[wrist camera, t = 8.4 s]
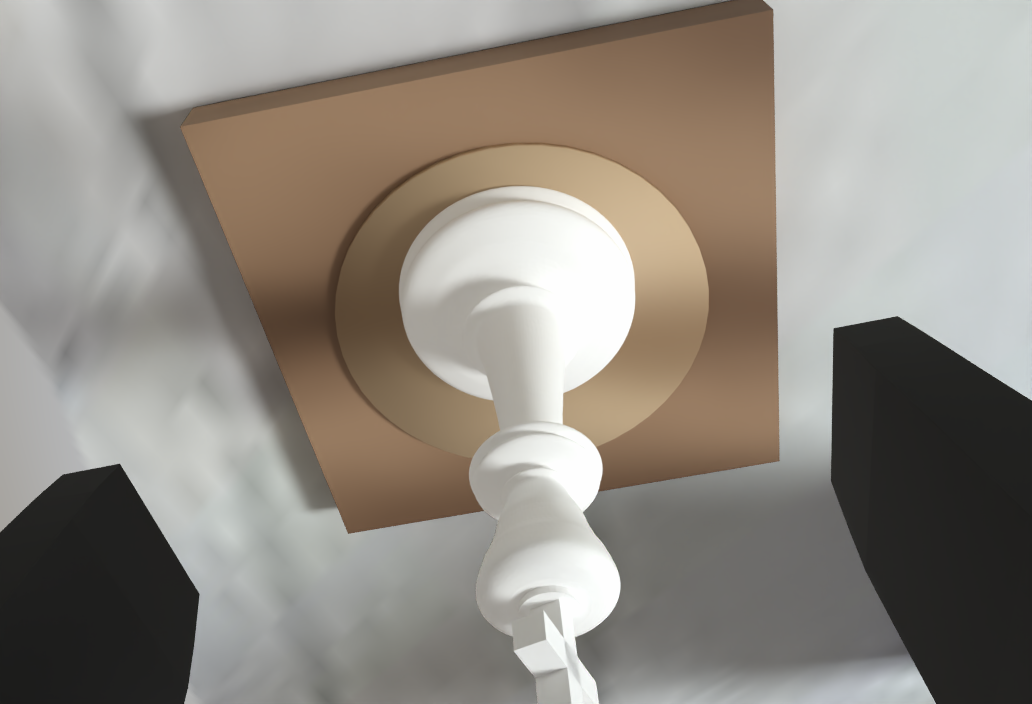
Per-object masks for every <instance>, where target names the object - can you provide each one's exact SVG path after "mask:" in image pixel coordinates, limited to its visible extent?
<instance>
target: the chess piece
mask: <svg viewBox="0 0 1032 704" xmlns="http://www.w3.org/2000/svg"><path fill="white" fill-rule="evenodd" d="M399 301H400V307H401V312H402V319H403V324H404V328H405V331H406V334H407V337H408V339H409V341H410V344H411V346H412V347H413V349H414V351H415V352H416V354H417V355H418V357H419V358H420V359H421V361H422V362H423V363H424V364H425V365H426V366H427V368H428V369H430V370H431V371H432V372H433V373H434V374H435V375H436V376H437V377H439V378H440V379H441V380H443V381H444V382H446V383H447V384H449V385H451V386H452V387H454V388H456V389H458V390H460V391H462V392H465V393H467V394H470V395H473V396H476V397H479V398H483V399H488V400H493V401H494V406H495V410H496V414H497V418H498V422H499V428H500V431H499V432H497V433H495V434H494V435H492V436H491V437H489V438H488V439H487V440H486V441H485V442H484V443H483V444H482V445H481V446H480V447H479V448H478V450H477V451H476V453H475V454H474V456H473V458H472V461H471V464H470V468H469V481H470V486H471V488H472V491H473V493H474V495H475V497H476V499H477V501H478V503H479V505H480V506H481V507H482V509H483V510H484V511H485V512H486V513H487V514H489V515H490V516H491V517H493V518H494V519H496V520H498V523H497V527H496V532H495V535H494V538H493V541H492V543H491V546H490V547H489V549H488V551H487V552H486V554H485V557H484V559H483V562H482V565H481V568H480V571H479V574H478V578H477V582H476V591H475V593H476V601H477V605H478V607H479V610H480V612H481V613H482V615H483V616H484V618H485V619H486V620H487V621H488V622H489V623H490V624H491V625H492V626H493V627H495V628H496V629H498V630H499V631H501V632H503V633H504V634H507V635H509V636H511V637H513V649H514V652H515V653H516V654H517V656H518V657H519V658H520V660H521V661H522V662H523V663H524V665H525V666H526V667H527V668H528V670H529V671H530V672H531V673H532V675H533V676H534V677H535V679H536V691H537V704H599V700H598V693H597V687H596V682H595V680H594V679H593V678H592V676H591V675H590V674H589V672H588V671H587V669H586V668H585V667H584V665H583V664H582V663H581V661H580V660H579V658H578V657H577V650H576V643H575V637H577V636H579V635H582V634H584V633H586V632H588V631H590V630H592V629H593V628H595V627H596V626H598V625H599V624H600V623H601V622H602V621H604V620H605V619H606V618H607V617H608V616H609V614H610V613H611V612H612V610H613V609H614V607H615V605H616V603H617V601H618V598H619V595H620V576H619V573H618V570H617V567H616V565H615V563H614V561H613V559H612V558H611V556H610V554H609V552H608V551H607V549H606V548H605V546H604V544H603V543H602V542H601V541H600V539H599V538H598V537H597V536H596V535H595V534H594V532H593V531H592V529H591V528H590V526H589V524H588V522H587V520H586V518H585V516H584V514H583V511H584V510H585V509H587V508H588V506H589V505H590V504H591V503H592V502H593V500H594V498H595V497H596V495H597V492H598V490H599V486H600V481H601V478H602V469H603V468H602V460H601V457H600V454H599V452H598V450H597V448H596V447H595V445H594V444H593V443H592V442H591V440H589V439H588V438H587V437H586V436H585V435H583V434H582V433H581V432H579V431H577V430H575V429H574V428H571V427H569V426H566V425H563V393H565V392H567V391H570V390H572V389H574V388H576V387H578V386H580V385H581V384H583V383H585V382H586V381H588V380H589V379H591V378H592V377H594V376H595V375H596V374H597V373H599V372H600V371H601V370H602V369H603V368H604V367H605V366H606V365H607V364H608V363H609V362H610V361H611V360H612V359H613V357H614V356H615V355H616V353H617V352H618V351H619V349H620V348H621V346H622V344H623V343H624V341H625V339H626V337H627V334H628V332H629V329H630V327H631V324H632V320H633V316H634V310H635V278H634V269H633V265H632V261H631V257H630V254H629V252H628V249H627V247H626V245H625V243H624V241H623V240H622V238H621V236H620V235H619V233H618V232H617V230H616V229H615V228H614V227H613V226H612V224H611V223H610V222H609V221H608V220H607V219H606V218H605V217H604V216H603V215H602V214H600V213H599V212H598V211H597V210H595V209H594V208H592V207H591V206H590V205H588V204H586V203H585V202H583V201H581V200H579V199H577V198H575V197H573V196H570V195H568V194H565V193H562V192H559V191H555V190H552V189H547V188H541V187H533V186H508V187H500V188H494V189H489V190H486V191H482V192H479V193H476V194H473V195H470V196H468V197H466V198H463V199H461V200H459V201H457V202H456V203H454V204H452V205H450V206H449V207H447V208H446V209H444V210H443V211H442V212H440V213H439V214H438V215H436V216H435V217H434V218H433V219H432V220H431V221H430V222H429V223H428V224H427V225H426V226H425V227H424V228H423V229H422V231H421V232H420V233H419V234H418V236H417V237H416V238H415V240H414V242H413V243H412V245H411V247H410V248H409V251H408V253H407V255H406V257H405V260H404V263H403V266H402V270H401V274H400V281H399Z"/></svg>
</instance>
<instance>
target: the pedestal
mask: <svg viewBox="0 0 1032 704" xmlns="http://www.w3.org/2000/svg"><path fill="white" fill-rule="evenodd" d="M180 128H181V130H182V133H183V135H184V137H185V140H186V142H187V145H188V147H189V149H190V152H191V154H192V157H193V159H194V162H195V164H196V166H197V169H198V171H199V174H200V176H201V178H202V181H203V183H204V186H205V188H206V191H207V193H208V195H209V198H210V200H211V203H212V205H213V208H214V210H215V212H216V215H217V217H218V220H219V222H220V224H221V227H222V229H223V232H224V234H225V237H226V239H227V241H228V244H229V246H230V249H231V251H232V254H233V256H234V258H235V261H236V263H237V266H238V268H239V270H240V273H241V275H242V278H243V280H244V283H245V285H246V287H247V290H248V292H249V295H250V297H251V300H252V302H253V304H254V307H255V309H256V312H257V314H258V316H259V319H260V321H261V324H262V326H263V329H264V331H265V333H266V336H267V338H268V341H269V343H270V345H271V348H272V350H273V353H274V355H275V358H276V360H277V362H278V365H279V367H280V370H281V372H282V375H283V377H284V379H285V382H286V384H287V387H288V389H289V391H290V394H291V396H292V399H293V401H294V404H295V406H296V408H297V411H298V413H299V416H300V418H301V421H302V423H303V425H304V428H305V430H306V433H307V435H308V437H309V440H310V442H311V445H312V447H313V450H314V452H315V454H316V457H317V459H318V462H319V464H320V467H321V469H322V471H323V474H324V476H325V479H326V481H327V483H328V486H329V488H330V491H331V493H332V496H333V498H334V500H335V503H336V505H337V508H338V510H339V512H340V515H341V517H342V520H343V522H344V525H345V527H346V529H347V532H348V534H349V533H355V532H361V531H367V530H373V529H379V528H385V527H391V526H396V525H402V524H408V523H414V522H420V521H426V520H432V519H438V518H444V517H450V516H456V515H462V514H468V513H474V512H480V511H484V510H483V509H482V507H481V506H480V505H479V503H478V501H477V499H476V497H475V495H474V493H473V491H472V488H471V486H470V481H469V468H470V464H471V461H472V458H473V456H474V454H475V453H476V451H477V450H478V448H479V447H480V446H481V445H482V444H483V443H484V442H485V441H486V440H487V439H488V438H489V437H491V436H492V435H494V434H495V433H497V432H499V431H500V428H499V422H498V418H497V414H496V410H495V406H494V401H493V400H488V399H483V398H479V397H476V396H473V395H470V394H467V393H465V392H462V391H460V390H458V389H456V388H454V387H452V386H451V385H449V384H447V383H446V382H444V381H443V380H441V379H440V378H439V377H437V376H436V375H435V374H434V373H433V372H432V371H431V370H430V369H428V368H427V366H426V365H425V364H424V363H423V362H422V361H421V359H420V358H419V357H418V355H417V354H416V352H415V351H414V349H413V347H412V346H411V344H410V341H409V339H408V337H407V334H406V331H405V328H404V324H403V319H402V312H401V307H400V301H399V281H400V274H401V270H402V266H403V263H404V260H405V257H406V255H407V253H408V251H409V248H410V247H411V245H412V243H413V242H414V240H415V238H416V237H417V236H418V234H419V233H420V232H421V231H422V229H423V228H424V227H425V226H426V225H427V224H428V223H429V222H430V221H431V220H432V219H433V218H434V217H435V216H436V215H438V214H439V213H440V212H442V211H443V210H444V209H446V208H447V207H449V206H450V205H452V204H454V203H456V202H457V201H459V200H461V199H463V198H466V197H468V196H470V195H473V194H476V193H479V192H482V191H486V190H489V189H494V188H500V187H508V186H533V187H541V188H547V189H552V190H555V191H559V192H562V193H565V194H568V195H570V196H573V197H575V198H577V199H579V200H581V201H583V202H585V203H586V204H588V205H590V206H591V207H592V208H594V209H595V210H597V211H598V212H599V213H600V214H602V215H603V216H604V217H605V218H606V219H607V220H608V221H609V222H610V223H611V224H612V226H613V227H614V228H615V229H616V230H617V232H618V233H619V235H620V236H621V238H622V240H623V241H624V243H625V245H626V247H627V249H628V252H629V254H630V257H631V261H632V265H633V269H634V278H635V310H634V316H633V320H632V324H631V327H630V329H629V332H628V334H627V337H626V339H625V341H624V343H623V344H622V346H621V348H620V349H619V351H618V352H617V353H616V355H615V356H614V357H613V359H612V360H611V361H610V362H609V363H608V364H607V365H606V366H605V367H604V368H603V369H602V370H601V371H600V372H599V373H597V374H596V375H595V376H594V377H592V378H591V379H589V380H588V381H586V382H585V383H583V384H581V385H580V386H578V387H576V388H574V389H572V390H570V391H567V392H565V393H563V425H566V426H569V427H571V428H574V429H575V430H577V431H579V432H581V433H582V434H583V435H585V436H586V437H587V438H588V439H589V440H591V442H592V443H593V444H594V445H595V447H596V448H597V450H598V452H599V454H600V457H601V460H602V468H603V469H602V478H601V481H600V486H599V490H598V491H604V490H610V489H616V488H622V487H628V486H634V485H640V484H646V483H652V482H658V481H664V480H670V479H676V478H682V477H688V476H693V475H699V474H705V473H711V472H717V471H723V470H729V469H735V468H741V467H747V466H753V465H759V464H765V463H771V462H777V461H779V394H778V323H777V252H776V181H775V110H774V39H773V9H772V8H771V7H770V6H769V5H767V4H766V3H765V2H764V1H763V0H733V1H728V2H723V3H718V4H713V5H708V6H703V7H698V8H693V9H688V10H683V11H678V12H673V13H668V14H663V15H658V16H653V17H648V18H643V19H638V20H633V21H628V22H623V23H618V24H613V25H607V26H602V27H597V28H592V29H587V30H582V31H577V32H572V33H567V34H562V35H557V36H552V37H547V38H542V39H537V40H532V41H527V42H522V43H517V44H512V45H507V46H502V47H497V48H492V49H487V50H482V51H477V52H472V53H467V54H462V55H457V56H452V57H447V58H442V59H436V60H431V61H426V62H421V63H416V64H411V65H406V66H401V67H396V68H391V69H386V70H381V71H376V72H371V73H366V74H361V75H356V76H351V77H346V78H341V79H336V80H331V81H326V82H321V83H316V84H311V85H306V86H301V87H296V88H291V89H286V90H281V91H276V92H271V93H265V94H260V95H255V96H250V97H245V98H240V99H235V100H230V101H225V102H220V103H215V104H210V105H205V106H200V107H195V108H193V109H192V110H191V112H190V113H189V115H188V116H187V118H186V119H185V121H184V122H183V123H182V125H181V126H180Z"/></svg>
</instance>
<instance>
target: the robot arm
mask: <svg viewBox="0 0 1032 704" xmlns="http://www.w3.org/2000/svg"><path fill="white" fill-rule="evenodd" d="M831 482H832V485H833V487H834V490H835V493H836V495H837V498H838V501H839V504H840V506H841V509H842V512H843V514H844V517H845V520H846V522H847V525H848V528H849V530H850V533H851V535H852V538H853V540H854V543H855V545H856V548H857V550H858V553H859V555H860V558H861V561H862V563H863V566H864V568H865V571H866V573H867V574H868V576H869V578H870V580H871V582H872V584H873V586H874V588H875V590H876V592H877V594H878V596H879V598H880V599H881V601H882V603H883V605H884V607H885V609H886V611H887V613H888V615H889V616H890V618H891V620H892V622H893V624H894V626H895V628H896V630H897V631H898V633H899V635H900V637H901V639H902V641H903V643H904V645H905V647H906V648H907V650H908V652H909V654H910V656H911V658H912V660H913V661H914V663H915V665H916V667H917V669H918V671H919V673H920V674H921V676H922V678H923V680H924V682H925V684H926V686H927V687H928V689H929V691H930V693H931V695H932V697H933V699H934V700H935V702H936V704H1032V401H1031V400H1030V399H1028V398H1027V397H1025V396H1023V395H1022V394H1020V393H1018V392H1017V391H1015V390H1014V389H1012V388H1011V387H1009V386H1007V385H1006V384H1004V383H1003V382H1001V381H999V380H998V379H996V378H995V377H993V376H992V375H990V374H988V373H987V372H985V371H984V370H982V369H980V368H979V367H977V366H976V365H974V364H973V363H971V362H970V361H968V360H966V359H965V358H963V357H962V356H960V355H959V354H957V353H955V352H954V351H952V350H951V349H949V348H948V347H946V346H945V345H943V344H941V343H940V342H938V341H937V340H935V339H934V338H932V337H930V336H929V335H927V334H926V333H924V332H923V331H921V330H919V329H918V328H916V327H915V326H913V325H911V324H910V323H908V322H906V321H905V320H903V319H901V318H900V317H898V316H897V317H891V318H886V319H881V320H876V321H870V322H865V323H860V324H854V325H849V326H844V327H839V328H834V334H833V395H832V456H831ZM198 603H199V593H198V591H197V589H196V588H195V586H194V584H193V583H192V581H191V580H190V578H189V576H188V575H187V573H186V571H185V570H184V568H183V566H182V565H181V563H180V562H179V560H178V558H177V557H176V555H175V553H174V552H173V550H172V548H171V547H170V545H169V544H168V542H167V540H166V539H165V537H164V535H163V534H162V532H161V530H160V529H159V527H158V525H157V524H156V522H155V521H154V519H153V517H152V516H151V514H150V512H149V511H148V509H147V507H146V506H145V504H144V503H143V501H142V499H141V498H140V496H139V494H138V493H137V491H136V489H135V488H134V486H133V485H132V483H131V481H130V480H129V478H128V476H127V475H126V473H125V471H124V470H123V468H122V466H121V465H120V464H116V465H111V466H106V467H101V468H95V469H90V470H85V471H79V472H75V473H69V474H64V475H62V476H61V477H60V478H59V479H57V480H56V481H55V482H54V483H53V484H52V485H51V486H49V487H48V488H47V489H46V490H45V491H43V492H42V493H41V494H40V495H39V496H38V497H37V498H36V499H35V500H34V501H32V502H31V503H30V504H29V506H27V507H26V508H25V509H24V510H23V511H22V512H21V513H20V514H19V515H18V516H17V517H16V518H15V519H14V520H13V521H12V522H11V523H9V524H8V525H7V527H5V528H4V530H2V531H1V532H0V704H184V701H185V697H186V693H187V689H188V683H189V676H190V670H191V663H192V656H193V649H194V641H195V631H196V622H197V612H198Z"/></svg>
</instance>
